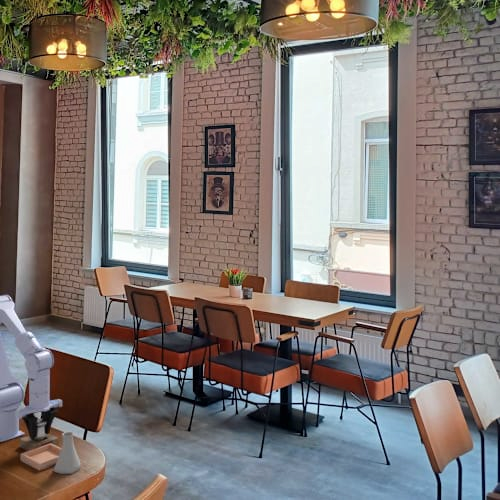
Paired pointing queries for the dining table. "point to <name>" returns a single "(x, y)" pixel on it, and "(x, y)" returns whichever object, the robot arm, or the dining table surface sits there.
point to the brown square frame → (30, 444)
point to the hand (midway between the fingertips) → (39, 435)
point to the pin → (40, 430)
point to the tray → (42, 456)
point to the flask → (67, 456)
